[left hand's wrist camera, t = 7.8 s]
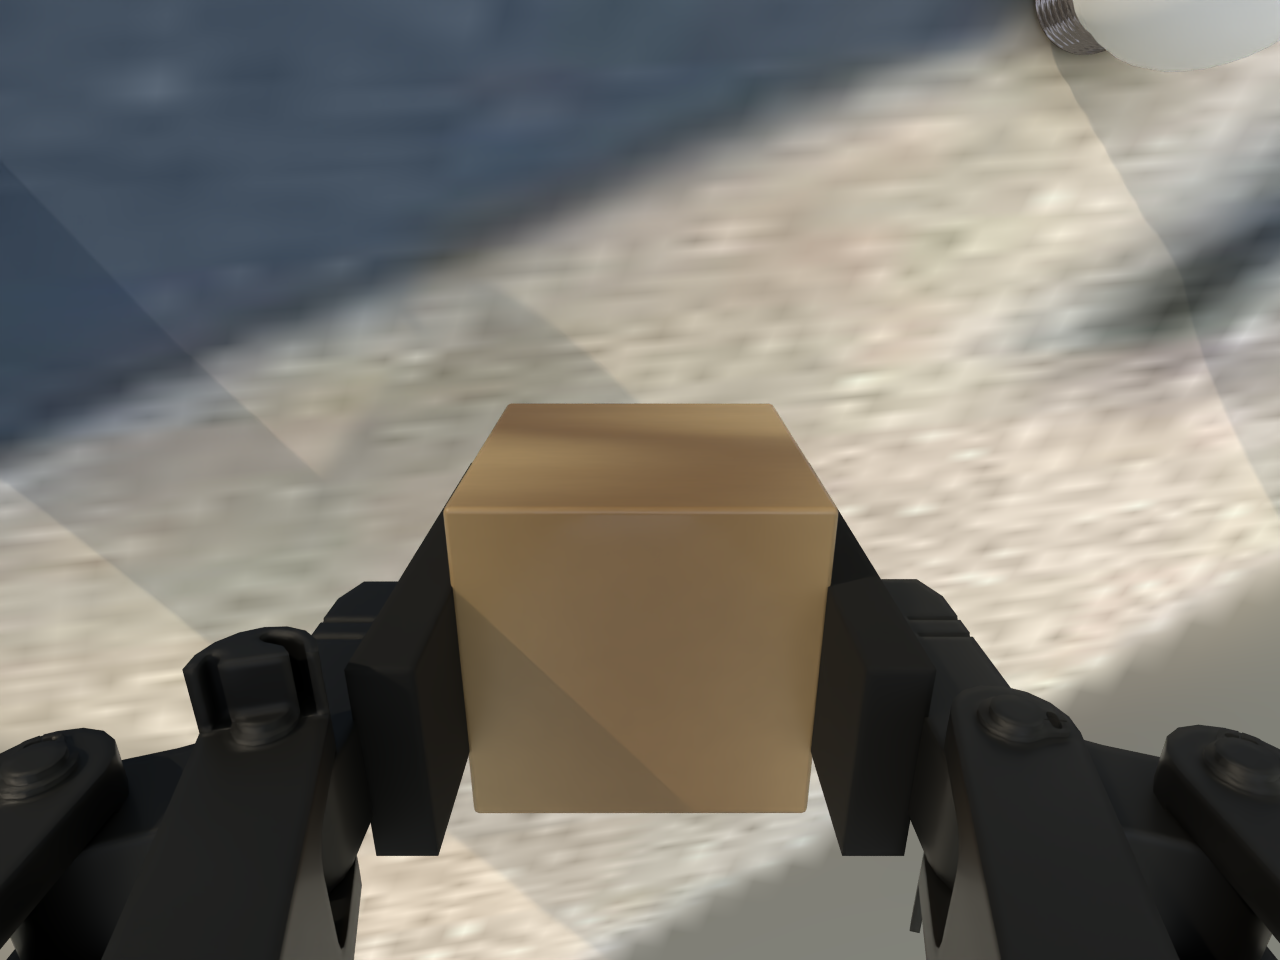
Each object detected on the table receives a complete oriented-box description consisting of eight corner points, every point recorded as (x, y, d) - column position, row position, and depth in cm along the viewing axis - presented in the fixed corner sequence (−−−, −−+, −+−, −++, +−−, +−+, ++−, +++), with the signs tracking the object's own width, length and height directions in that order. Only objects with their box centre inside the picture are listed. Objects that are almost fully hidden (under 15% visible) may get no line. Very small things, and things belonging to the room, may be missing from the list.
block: (522, 630, 16) (473, 815, 11) (507, 402, 14) (440, 508, 9) (757, 630, 16) (807, 815, 11) (773, 402, 14) (840, 507, 9)
